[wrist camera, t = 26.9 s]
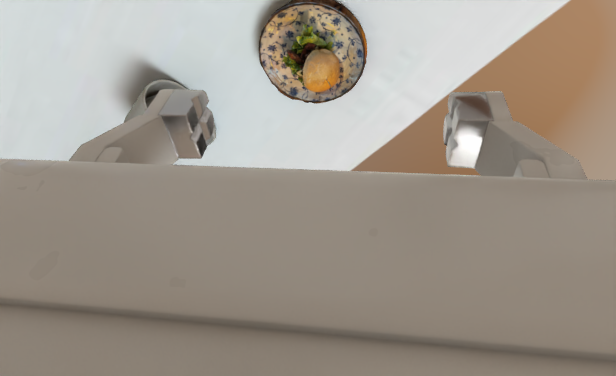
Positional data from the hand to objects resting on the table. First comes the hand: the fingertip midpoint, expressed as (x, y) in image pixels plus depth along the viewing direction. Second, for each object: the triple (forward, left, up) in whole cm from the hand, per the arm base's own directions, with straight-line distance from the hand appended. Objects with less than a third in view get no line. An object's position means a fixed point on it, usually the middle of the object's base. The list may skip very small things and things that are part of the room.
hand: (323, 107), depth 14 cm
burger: (+10, -11, -31) cm, 35 cm away
